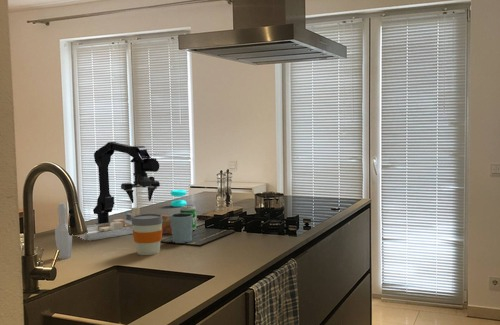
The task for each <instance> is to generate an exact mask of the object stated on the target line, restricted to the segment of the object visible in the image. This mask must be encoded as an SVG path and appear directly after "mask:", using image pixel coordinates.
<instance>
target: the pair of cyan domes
mask: <svg viewBox="0 0 500 325" xmlns="http://www.w3.org/2000/svg"><path fill="white" fill-rule="evenodd" d="M170 195H171V196H172V197H176V198H177V197H179V198H180V197H184V196H186V195H187V190H186V189H174V190H171V192H170ZM187 204H188V202H187V201H186V200H184V199H176V200H173V201H171V203H170V205H171V206H172V207H174V208H181V207H182V206H184V205H187Z"/></svg>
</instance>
